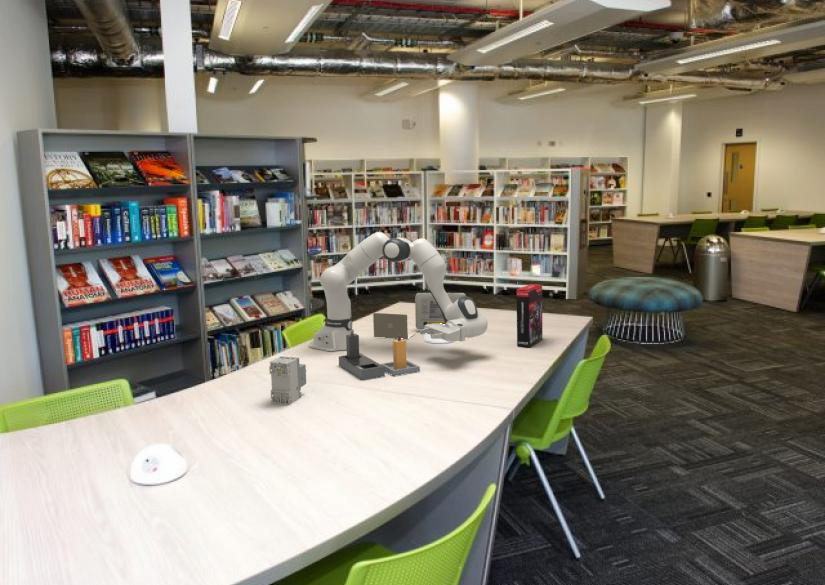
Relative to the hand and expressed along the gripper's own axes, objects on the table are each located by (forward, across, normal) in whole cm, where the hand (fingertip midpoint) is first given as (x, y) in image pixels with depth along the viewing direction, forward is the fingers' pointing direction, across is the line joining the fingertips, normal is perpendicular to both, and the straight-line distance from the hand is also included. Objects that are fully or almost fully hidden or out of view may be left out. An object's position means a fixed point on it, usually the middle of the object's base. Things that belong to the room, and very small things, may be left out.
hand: (425, 334), depth 270 cm
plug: (+12, 0, +13) cm, 18 cm away
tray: (+12, 0, +14) cm, 18 cm away
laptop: (-13, -54, +14) cm, 57 cm away
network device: (-36, -48, +14) cm, 62 cm away
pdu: (+26, -8, +13) cm, 31 cm away
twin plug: (+26, -16, +12) cm, 33 cm away
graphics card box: (-60, -6, +14) cm, 62 cm away
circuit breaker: (+62, +8, +13) cm, 64 cm away
